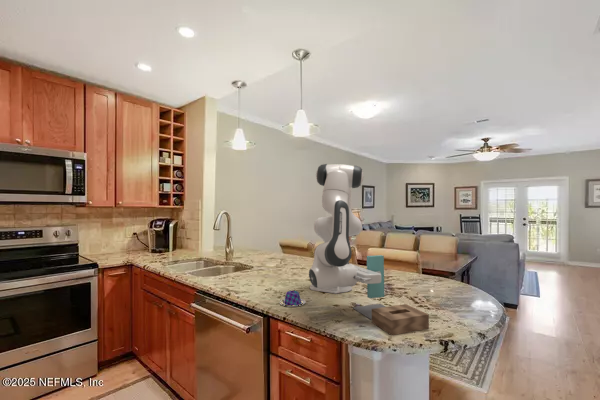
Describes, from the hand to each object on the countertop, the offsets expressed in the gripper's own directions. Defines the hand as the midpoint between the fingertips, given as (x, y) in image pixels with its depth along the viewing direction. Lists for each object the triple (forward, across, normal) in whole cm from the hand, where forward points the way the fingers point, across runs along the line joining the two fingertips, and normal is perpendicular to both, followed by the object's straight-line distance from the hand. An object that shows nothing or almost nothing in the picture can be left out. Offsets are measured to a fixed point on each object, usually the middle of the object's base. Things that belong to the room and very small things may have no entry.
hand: (377, 272), depth 122 cm
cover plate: (-1, 0, +10) cm, 10 cm away
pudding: (-30, +24, +17) cm, 42 cm away
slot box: (-1, -14, +16) cm, 22 cm away
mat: (-1, 0, +16) cm, 16 cm away
